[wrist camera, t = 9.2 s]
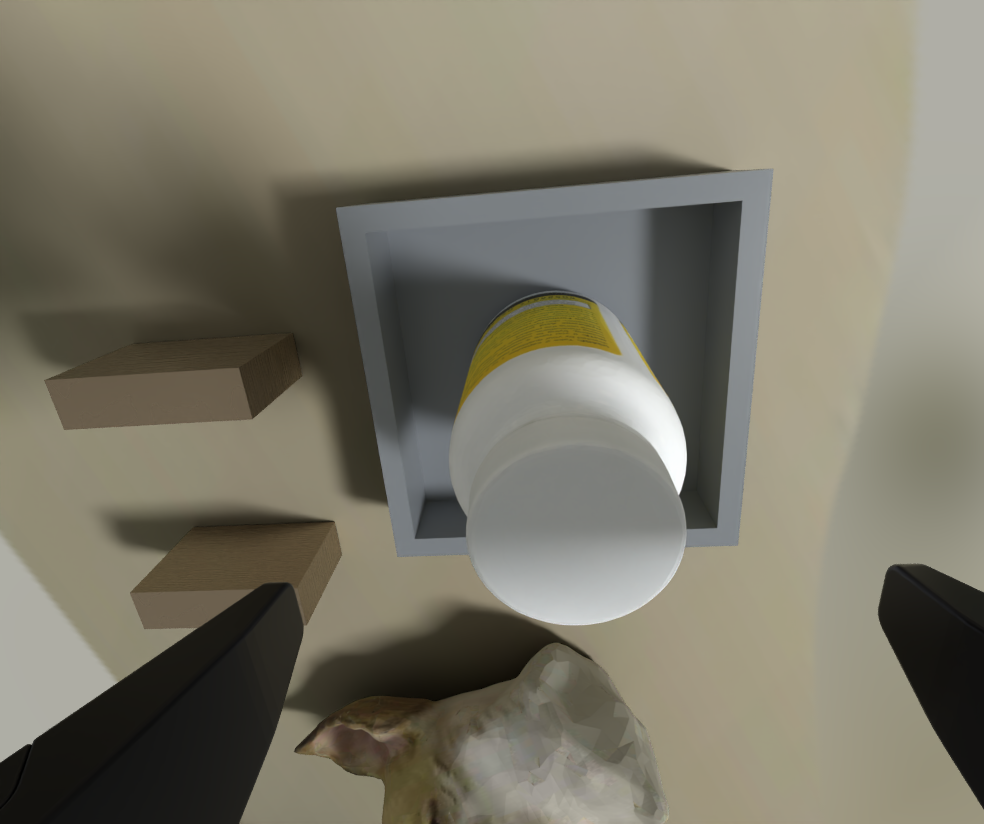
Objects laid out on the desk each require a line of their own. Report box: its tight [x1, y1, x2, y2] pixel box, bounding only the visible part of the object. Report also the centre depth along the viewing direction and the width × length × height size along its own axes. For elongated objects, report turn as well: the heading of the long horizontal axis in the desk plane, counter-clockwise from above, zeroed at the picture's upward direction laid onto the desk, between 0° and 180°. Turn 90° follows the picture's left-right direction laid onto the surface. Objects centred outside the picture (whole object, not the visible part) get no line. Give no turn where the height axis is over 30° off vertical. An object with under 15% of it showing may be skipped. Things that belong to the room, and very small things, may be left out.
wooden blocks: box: [44, 333, 342, 629], centre depth 20 cm, size 9×6×4 cm, turn 5°
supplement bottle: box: [449, 291, 687, 625], centre depth 15 cm, size 5×5×10 cm
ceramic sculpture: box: [294, 643, 669, 824], centre depth 23 cm, size 11×9×15 cm
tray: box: [336, 169, 773, 557], centre depth 18 cm, size 11×11×3 cm
